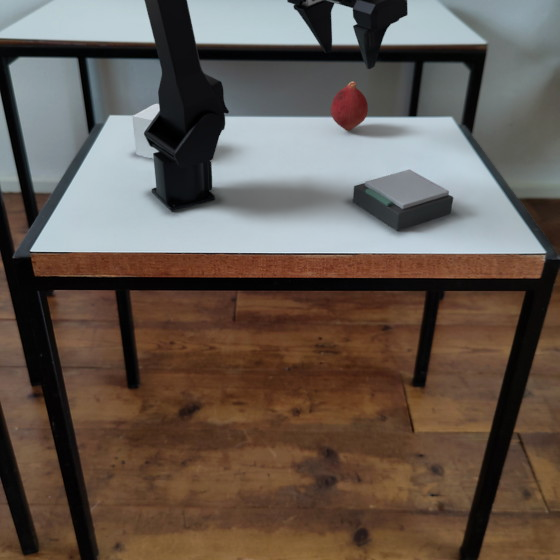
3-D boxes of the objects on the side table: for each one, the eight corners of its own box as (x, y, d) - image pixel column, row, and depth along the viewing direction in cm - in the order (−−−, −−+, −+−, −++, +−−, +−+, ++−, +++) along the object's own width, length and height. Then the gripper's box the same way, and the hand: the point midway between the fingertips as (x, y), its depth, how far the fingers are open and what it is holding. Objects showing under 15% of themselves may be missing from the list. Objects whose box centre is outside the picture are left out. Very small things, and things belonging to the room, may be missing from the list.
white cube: (158, 141, 107) (155, 103, 104) (192, 148, 105) (190, 109, 102) (136, 154, 103) (132, 115, 99) (170, 162, 101) (167, 122, 97)
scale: (396, 231, 85) (399, 209, 83) (352, 202, 91) (354, 181, 89) (450, 213, 89) (454, 192, 87) (404, 186, 95) (407, 166, 94)
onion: (336, 138, 109) (339, 88, 105) (324, 125, 114) (327, 77, 109) (371, 135, 110) (375, 86, 106) (358, 122, 115) (362, 74, 111)
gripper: (438, -68, 84) (438, 55, 94) (340, -84, 97) (349, 26, 107) (370, -41, 80) (377, 85, 90) (276, -62, 93) (292, 51, 103)
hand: (348, 59), depth 97 cm, fingers open, 9 cm apart
